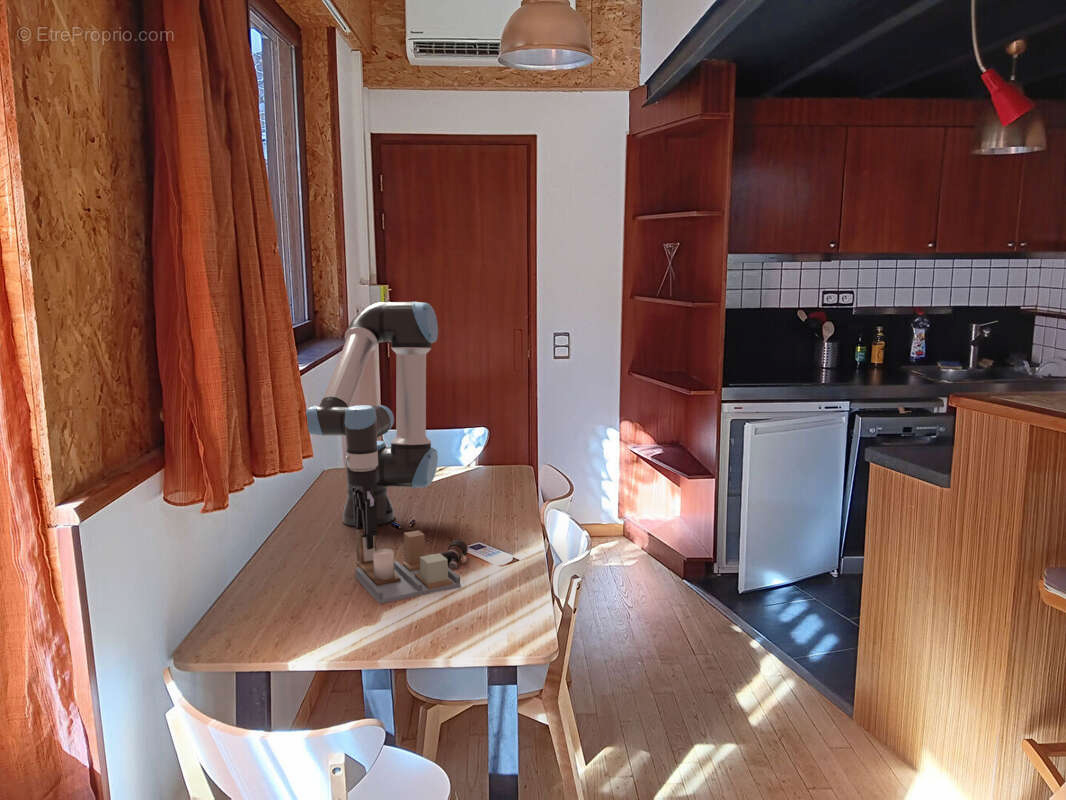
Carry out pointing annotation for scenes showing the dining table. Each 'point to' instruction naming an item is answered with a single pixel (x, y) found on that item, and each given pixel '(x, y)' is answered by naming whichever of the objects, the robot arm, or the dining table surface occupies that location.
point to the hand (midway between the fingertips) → (366, 557)
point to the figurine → (456, 553)
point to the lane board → (408, 575)
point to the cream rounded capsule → (383, 564)
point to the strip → (369, 562)
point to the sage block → (434, 568)
